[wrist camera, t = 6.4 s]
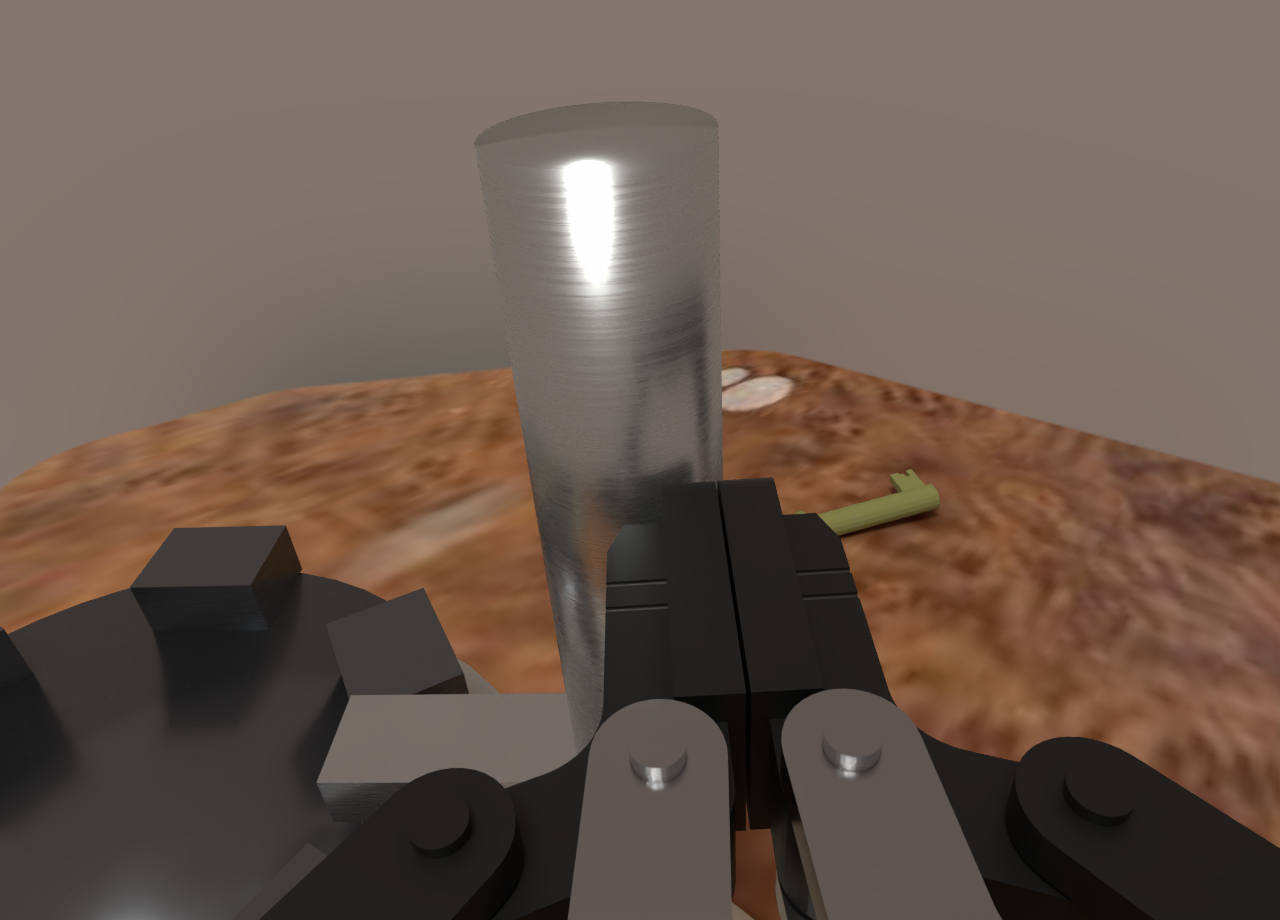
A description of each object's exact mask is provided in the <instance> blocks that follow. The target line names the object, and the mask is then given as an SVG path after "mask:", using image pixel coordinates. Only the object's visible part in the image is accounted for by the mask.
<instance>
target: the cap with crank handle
mask: <svg viewBox="0 0 1280 920" xmlns="http://www.w3.org/2000/svg"><path fill="white" fill-rule="evenodd" d="M474 144H475V149H476V156H477V162H478V168H479V174H480V180H481V186H482V191H483V198H484V204H485V210H486V216H487V222H488V228H489V234H490V239H491V246H492V252H493V258H494V264H495V270H496V276H497V282H498V288H499V294H500V300H501V306H502V311H503V318H504V324H505V330H506V336H507V342H508V348H509V354H510V360H511V366H512V372H513V378H514V384H515V391H516V397H517V403H518V409H519V415H520V421H521V427H522V433H523V439H524V445H525V451H526V457H527V463H528V469H529V475H530V481H531V487H532V493H533V499H534V505H535V511H536V517H537V523H538V529H539V535H540V541H541V547H542V553H543V559H544V565H545V571H546V577H547V583H548V589H549V595H550V601H551V607H552V613H553V619H554V625H555V631H556V637H557V643H558V649H559V655H560V661H561V667H562V673H563V679H564V685H565V691H566V693H535V694H469V692H468V688H467V684H466V680H465V676H464V673H463V671H462V668H461V666H460V664H459V662H458V660H457V658H456V656H455V654H454V652H453V649H452V647H451V645H450V643H449V641H448V639H447V637H446V635H445V633H444V630H443V628H442V626H441V624H440V622H439V620H438V618H437V616H436V613H435V611H434V609H433V607H432V605H431V603H430V601H429V599H428V597H427V594H426V592H425V590H424V588H422V589H419V590H416V591H414V592H411V593H408V594H406V595H403V596H400V597H397V598H395V599H392V600H389V601H385V600H384V599H382V598H380V597H378V596H376V595H374V594H372V593H370V592H368V591H366V590H364V589H361V588H358V587H355V586H352V585H349V584H346V583H343V582H340V581H337V580H333V579H329V578H324V577H319V576H314V575H309V574H304V573H300V572H301V570H302V568H301V565H300V562H299V560H298V557H297V554H296V552H295V549H294V546H293V544H292V541H291V538H290V536H289V533H288V530H287V528H286V526H246V527H204V528H174V529H173V531H172V532H171V533H170V535H169V536H168V537H167V539H166V540H165V541H164V543H163V544H162V545H161V547H160V548H159V549H158V551H157V552H156V553H155V555H154V556H153V557H152V559H151V560H150V561H149V563H148V564H147V565H146V567H145V568H144V569H143V571H142V572H141V573H140V575H139V576H138V577H137V578H136V580H135V581H134V582H133V584H132V585H131V586H130V589H126V590H122V591H119V592H115V593H112V594H109V595H106V596H103V597H100V598H97V599H94V600H90V601H87V602H84V603H81V604H79V605H76V606H73V607H71V608H68V609H66V610H63V611H61V612H58V613H55V614H53V615H50V616H48V617H45V618H43V619H40V620H38V621H36V622H33V623H31V624H29V625H27V626H25V627H23V628H20V629H18V630H16V631H14V632H12V633H10V634H7V633H6V632H5V630H4V629H3V628H1V627H0V920H259V919H260V918H261V917H262V916H263V915H264V914H266V913H267V912H268V911H269V910H270V909H271V908H272V907H273V906H274V905H275V904H276V903H277V902H278V901H280V900H281V899H282V898H283V897H284V896H285V895H286V894H287V893H288V892H289V891H290V890H291V889H292V888H293V887H295V886H296V885H297V884H298V883H299V882H300V881H301V880H302V879H303V878H304V877H305V876H306V875H307V874H309V873H310V872H311V871H312V870H313V869H314V868H315V867H316V866H317V865H318V864H319V863H320V862H321V861H322V860H324V859H325V858H326V857H327V856H328V855H329V854H330V853H331V852H332V851H333V850H334V849H335V848H336V847H338V846H339V845H340V844H341V843H342V842H343V841H344V840H345V839H346V838H347V837H348V836H349V835H350V834H352V833H353V832H354V831H355V830H356V829H357V828H358V827H359V826H360V825H361V824H362V823H363V822H364V821H365V820H367V819H368V818H369V817H370V816H371V815H372V814H373V813H374V812H375V811H376V810H377V809H378V808H379V807H381V806H382V805H383V804H384V803H385V802H386V801H387V800H388V799H389V798H390V797H391V796H392V795H393V794H395V793H396V792H397V791H398V790H399V789H401V788H402V787H403V786H405V785H406V784H408V783H409V782H411V781H413V780H414V779H416V778H418V777H420V776H423V775H425V774H427V773H430V772H434V771H437V770H442V769H448V768H467V769H474V770H477V771H480V772H483V773H486V774H487V775H489V776H491V777H493V778H494V779H496V780H497V781H498V782H499V783H500V784H501V785H502V786H503V787H504V788H507V787H510V786H513V785H516V784H518V783H521V782H524V781H527V780H530V779H532V778H535V777H538V776H541V775H543V774H546V773H548V772H551V771H553V770H555V769H557V768H559V767H561V766H562V765H564V764H566V763H567V762H569V761H570V760H571V759H573V758H574V757H575V756H577V755H578V754H579V753H580V752H581V751H582V750H583V749H584V748H585V747H586V746H587V744H588V743H589V742H590V740H591V739H592V737H593V736H594V734H595V732H596V730H597V728H598V726H599V723H600V720H601V717H602V711H603V690H604V650H605V613H606V588H607V587H606V570H607V551H608V550H609V548H610V546H611V545H612V543H613V541H614V540H615V538H616V537H617V535H618V533H619V532H620V530H621V528H622V527H623V525H633V524H650V523H663V510H662V493H661V485H662V484H678V483H694V482H710V481H715V483H716V489H717V482H718V481H722V480H723V458H722V379H721V307H720V305H721V302H720V226H719V153H718V152H719V147H718V122H717V120H716V119H715V118H714V117H713V116H712V115H710V114H708V113H706V112H704V111H701V110H699V109H695V108H691V107H687V106H682V105H675V104H668V103H657V102H605V103H591V104H581V105H573V106H565V107H558V108H553V109H547V110H542V111H537V112H533V113H529V114H525V115H521V116H518V117H515V118H511V119H509V120H506V121H503V122H500V123H498V124H496V125H494V126H491V127H490V128H488V129H487V130H485V131H483V132H482V133H481V134H479V136H478V137H477V138H476V140H475V143H474Z"/></svg>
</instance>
